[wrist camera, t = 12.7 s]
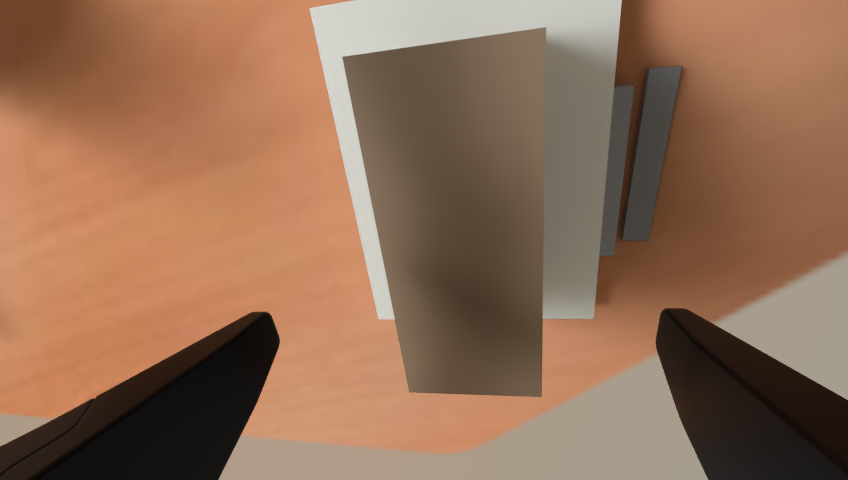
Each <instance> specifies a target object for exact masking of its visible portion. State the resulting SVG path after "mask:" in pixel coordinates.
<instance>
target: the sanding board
mask: <svg viewBox="0 0 848 480" xmlns="http://www.w3.org/2000/svg"><path fill="white" fill-rule="evenodd" d="M621 4H622V0H354V1H348V2H342V3H337V4H331V5H325V6H319V7H313V8H310V12H311V17H312V21H313V26H314V30H315V35H316V39H317V44H318V48H319V53H320V57H321V62H322V66H323V71H324V76H325V80H326V85H327V89H328V94H329V98H330V103H331V107H332V112H333V116H334V121H335V125H336V130H337V134H338V139H339V143H340V148H341V152H342V157H343V161H344V166H345V170H346V175H347V179H348V184H349V188H350V193H351V197H352V202H353V206H354V211H355V215H356V220H357V224H358V229H359V233H360V238H361V242H362V247H363V251H364V256H365V260H366V265H367V269H368V274H369V278H370V283H371V287H372V292H373V296H374V301H375V305H376V310H377V314H378V319H395V318H394V313H393V308H392V303H391V298H390V293H389V288H388V283H387V278H386V273H385V268H384V263H383V258H382V253H381V248H380V243H379V238H378V233H377V228H376V223H375V218H374V213H373V208H372V203H371V198H370V193H369V188H368V183H367V178H366V173H365V168H364V163H363V158H362V153H361V148H360V143H359V138H358V133H357V128H356V123H355V118H354V113H353V108H352V103H351V98H350V93H349V88H348V83H347V78H346V73H345V68H344V63H343V58H342V57H344V56H351V55H358V54H365V53H372V52H379V51H386V50H393V49H399V48H406V47H413V46H420V45H427V44H434V43H441V42H448V41H454V40H461V39H468V38H475V37H482V36H489V35H496V34H503V33H510V32H516V31H523V30H530V29H537V28H544V27H546V79H545V159H544V239H543V319H594V309H595V298H596V287H597V275H598V264H599V253H600V241H601V230H602V219H603V207H604V196H605V185H606V173H607V162H608V151H609V140H610V128H611V117H612V106H613V94H614V83H615V72H616V60H617V49H618V38H619V26H620V15H621Z"/></svg>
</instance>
